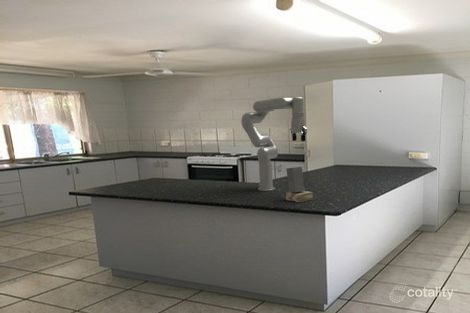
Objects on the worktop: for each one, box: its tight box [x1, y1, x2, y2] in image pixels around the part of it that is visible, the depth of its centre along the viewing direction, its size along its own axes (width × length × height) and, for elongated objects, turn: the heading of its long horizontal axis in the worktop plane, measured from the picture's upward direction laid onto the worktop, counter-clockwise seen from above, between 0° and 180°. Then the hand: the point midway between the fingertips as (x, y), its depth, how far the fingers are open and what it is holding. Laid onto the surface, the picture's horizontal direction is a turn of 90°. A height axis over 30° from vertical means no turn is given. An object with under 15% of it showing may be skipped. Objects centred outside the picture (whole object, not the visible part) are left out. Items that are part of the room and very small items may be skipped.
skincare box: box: [285, 166, 306, 193], centre depth 239 cm, size 8×7×16 cm
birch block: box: [285, 190, 314, 203], centre depth 239 cm, size 12×12×5 cm
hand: (298, 140), depth 253 cm, fingers open, 9 cm apart
